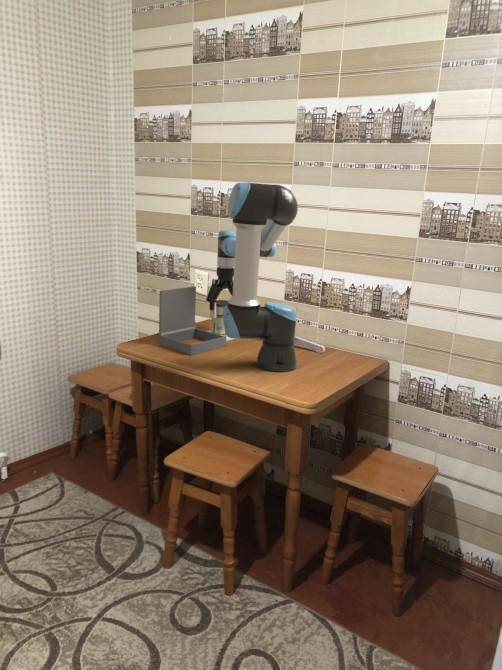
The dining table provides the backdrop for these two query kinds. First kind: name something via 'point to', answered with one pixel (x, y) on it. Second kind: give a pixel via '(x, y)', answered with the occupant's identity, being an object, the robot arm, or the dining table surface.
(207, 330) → the mat
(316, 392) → the dining table surface
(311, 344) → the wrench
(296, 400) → the dining table surface
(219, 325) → the coffee can
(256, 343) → the dining table surface
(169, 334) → the case
